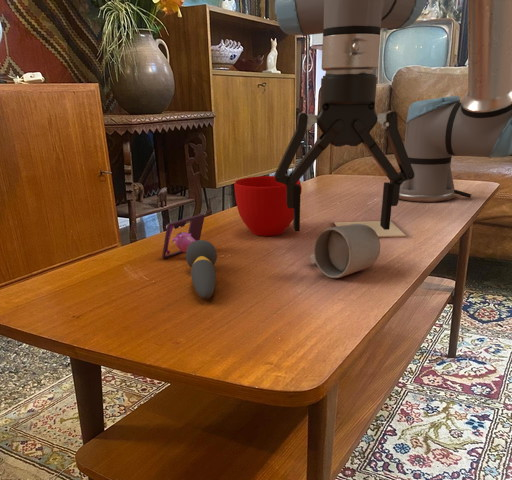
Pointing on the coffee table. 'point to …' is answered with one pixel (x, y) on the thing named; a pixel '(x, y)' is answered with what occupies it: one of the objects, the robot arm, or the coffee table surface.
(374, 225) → the coaster
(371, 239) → the ceramic mug
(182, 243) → the purple open frame
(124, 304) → the coffee table surface
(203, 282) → the grey wand massager
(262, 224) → the ceramic cup
